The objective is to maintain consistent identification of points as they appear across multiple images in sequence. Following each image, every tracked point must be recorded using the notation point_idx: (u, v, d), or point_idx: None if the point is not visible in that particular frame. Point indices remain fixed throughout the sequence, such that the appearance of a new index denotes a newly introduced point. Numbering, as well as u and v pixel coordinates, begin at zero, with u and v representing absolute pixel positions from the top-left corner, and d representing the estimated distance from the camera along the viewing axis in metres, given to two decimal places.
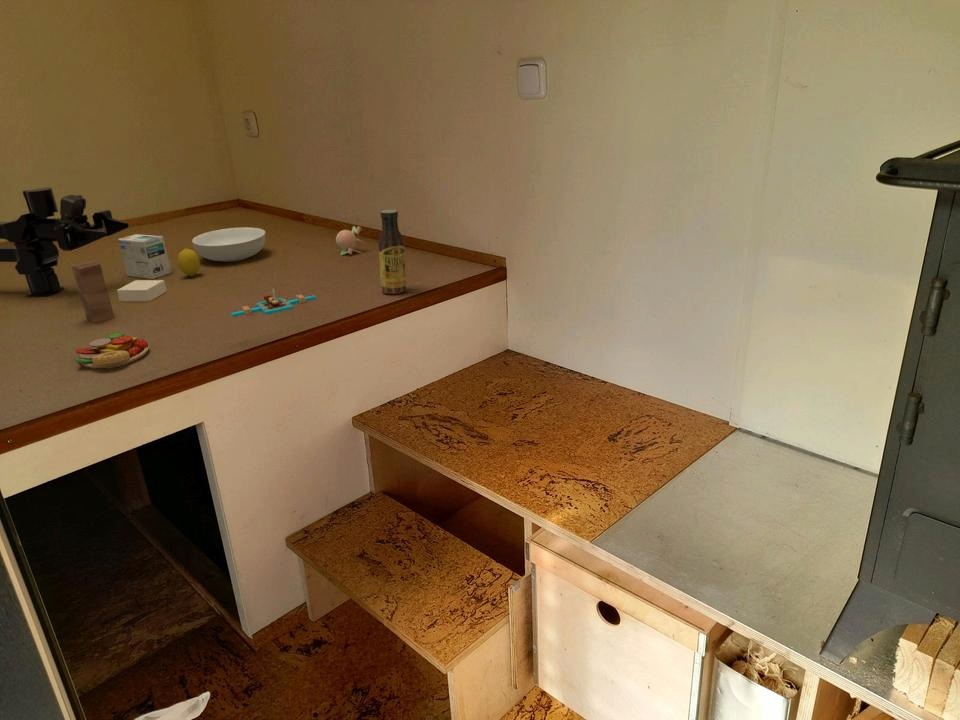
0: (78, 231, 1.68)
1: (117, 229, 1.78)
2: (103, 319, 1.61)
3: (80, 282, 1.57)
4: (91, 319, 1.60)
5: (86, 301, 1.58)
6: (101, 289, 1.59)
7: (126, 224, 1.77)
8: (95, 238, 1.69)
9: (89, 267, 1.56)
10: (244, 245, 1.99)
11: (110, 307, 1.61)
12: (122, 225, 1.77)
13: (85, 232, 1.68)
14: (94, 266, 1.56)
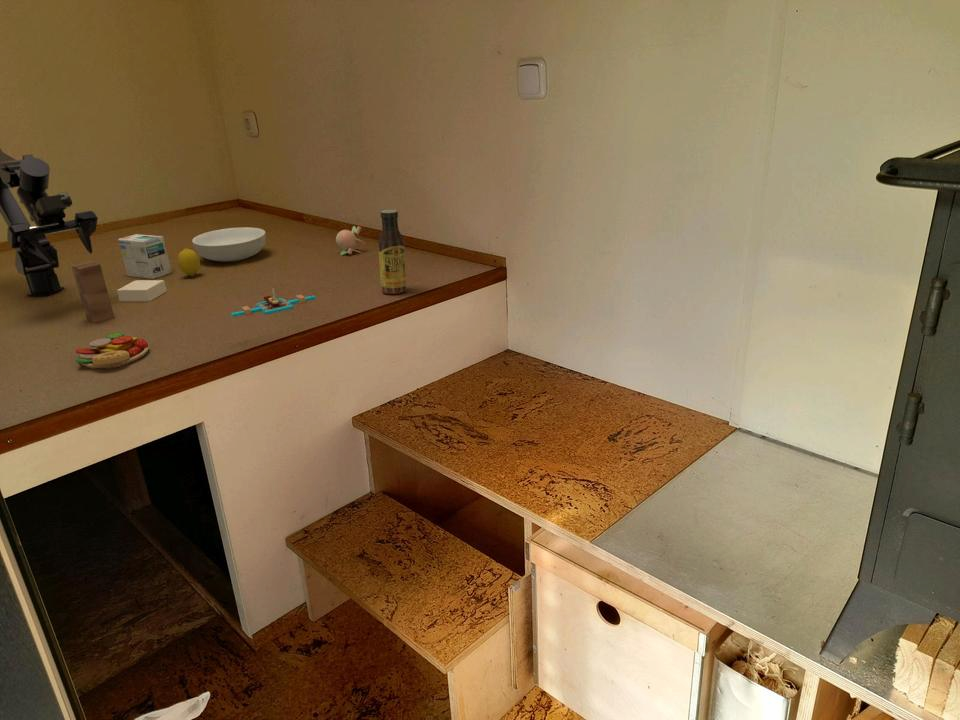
0: None
1: (84, 244, 1.66)
2: (103, 319, 1.61)
3: (80, 282, 1.57)
4: (91, 319, 1.60)
5: (86, 301, 1.58)
6: (101, 289, 1.59)
7: (90, 250, 1.65)
8: (41, 256, 1.59)
9: (89, 267, 1.56)
10: (244, 245, 1.99)
11: (110, 307, 1.61)
12: (87, 247, 1.65)
13: (35, 246, 1.58)
14: (94, 266, 1.56)
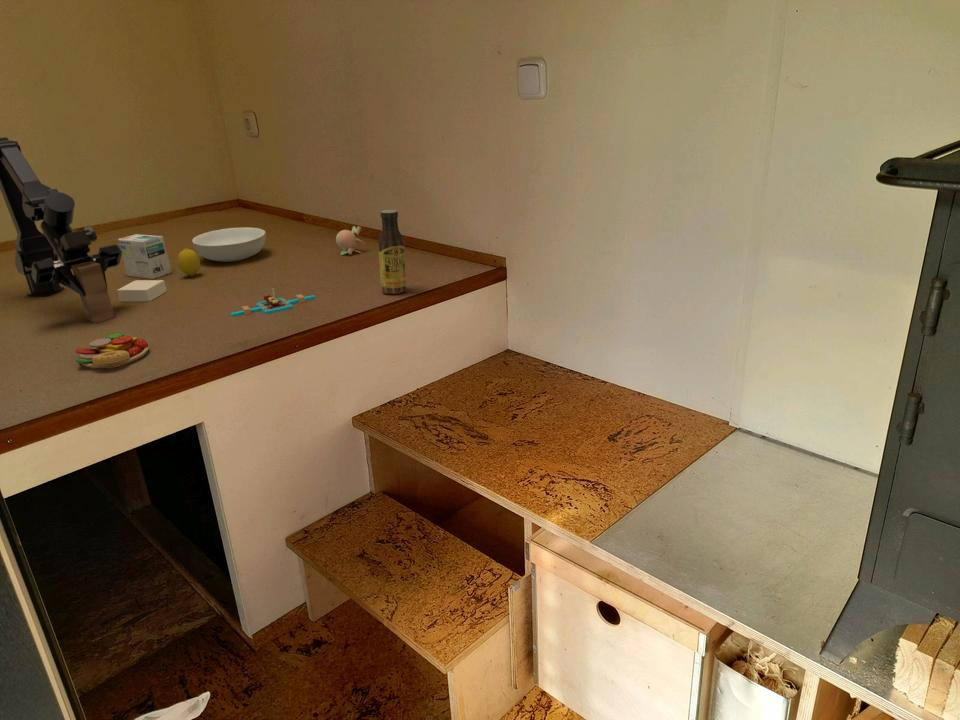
0: None
1: None
2: (103, 319, 1.61)
3: (80, 282, 1.57)
4: (91, 319, 1.60)
5: (86, 301, 1.58)
6: (101, 289, 1.59)
7: None
8: (76, 290, 1.58)
9: (89, 267, 1.56)
10: (244, 245, 1.99)
11: (110, 307, 1.61)
12: None
13: (69, 280, 1.56)
14: (94, 266, 1.56)
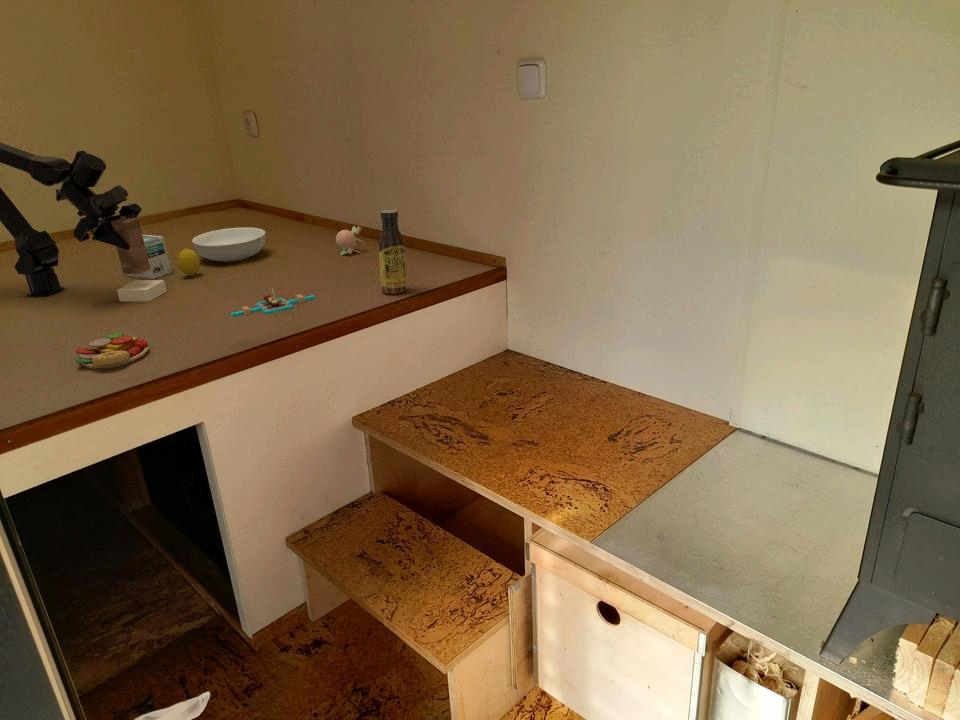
0: (107, 230, 1.66)
1: None
2: (143, 270, 1.73)
3: (122, 236, 1.68)
4: (132, 271, 1.71)
5: (129, 254, 1.70)
6: (141, 242, 1.71)
7: None
8: (117, 245, 1.68)
9: (132, 221, 1.68)
10: (244, 245, 1.99)
11: (147, 259, 1.74)
12: None
13: (112, 235, 1.67)
14: (135, 220, 1.69)
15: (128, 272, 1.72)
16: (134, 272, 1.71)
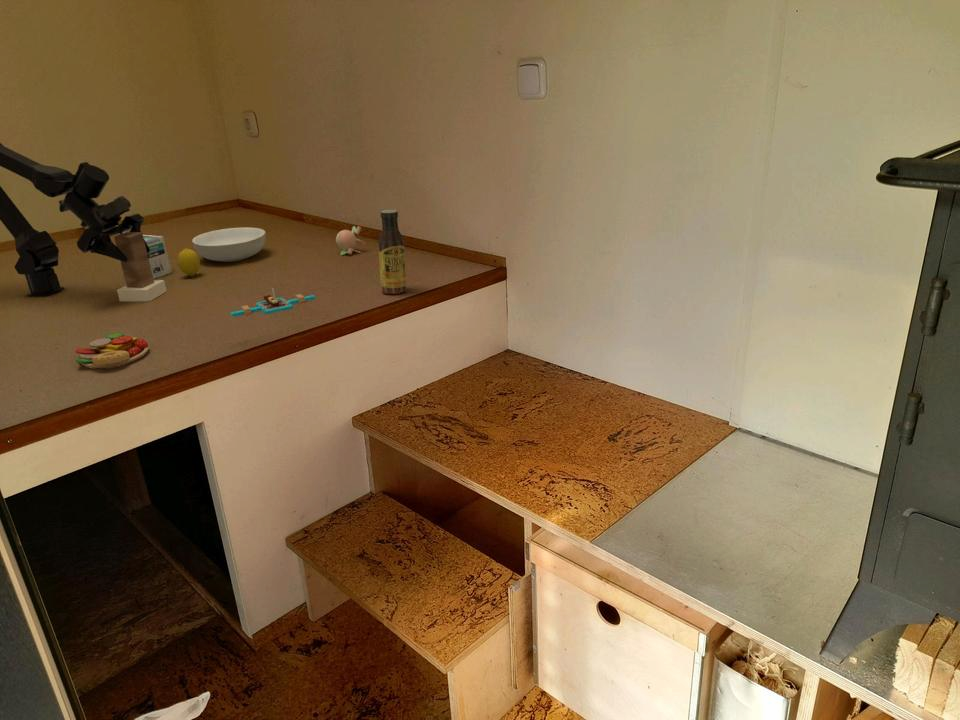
0: (105, 243, 1.66)
1: None
2: (147, 284, 1.74)
3: (126, 251, 1.69)
4: (136, 285, 1.73)
5: (133, 268, 1.71)
6: (144, 256, 1.73)
7: (148, 250, 1.75)
8: (115, 257, 1.68)
9: (135, 235, 1.70)
10: (244, 245, 1.99)
11: (151, 273, 1.75)
12: None
13: (110, 247, 1.66)
14: (138, 234, 1.71)
15: (132, 286, 1.73)
16: (138, 286, 1.73)
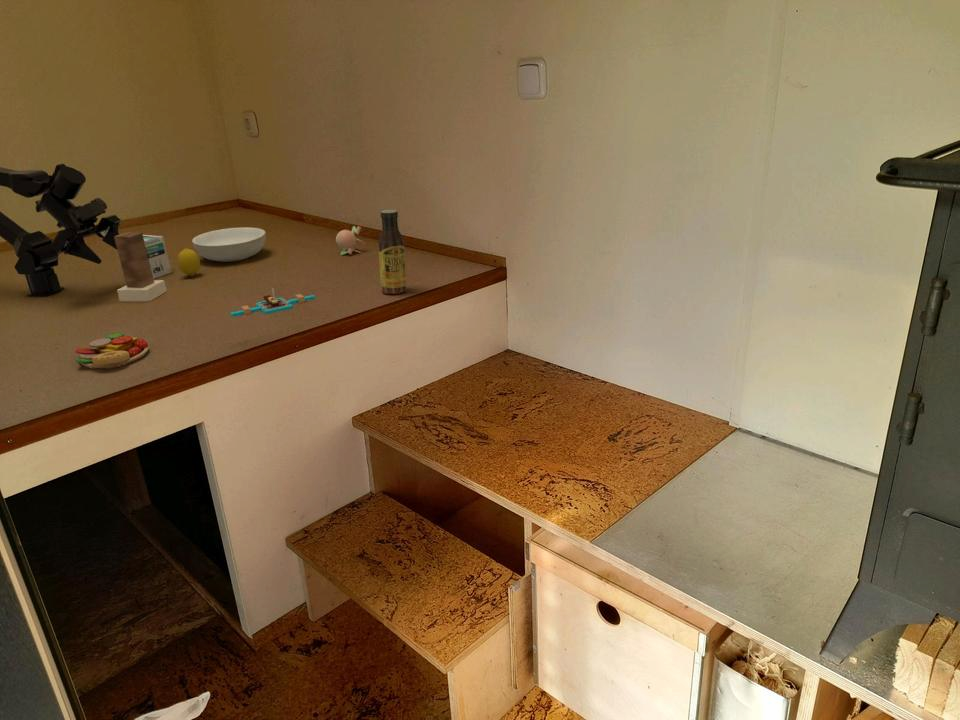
0: (79, 244, 1.67)
1: (114, 246, 1.78)
2: (147, 284, 1.74)
3: (126, 251, 1.69)
4: (136, 285, 1.73)
5: (133, 268, 1.71)
6: (144, 256, 1.73)
7: None
8: (89, 259, 1.69)
9: (135, 235, 1.70)
10: (244, 245, 1.99)
11: (151, 273, 1.75)
12: None
13: (84, 249, 1.68)
14: (138, 234, 1.71)
15: (132, 286, 1.73)
16: (138, 286, 1.73)
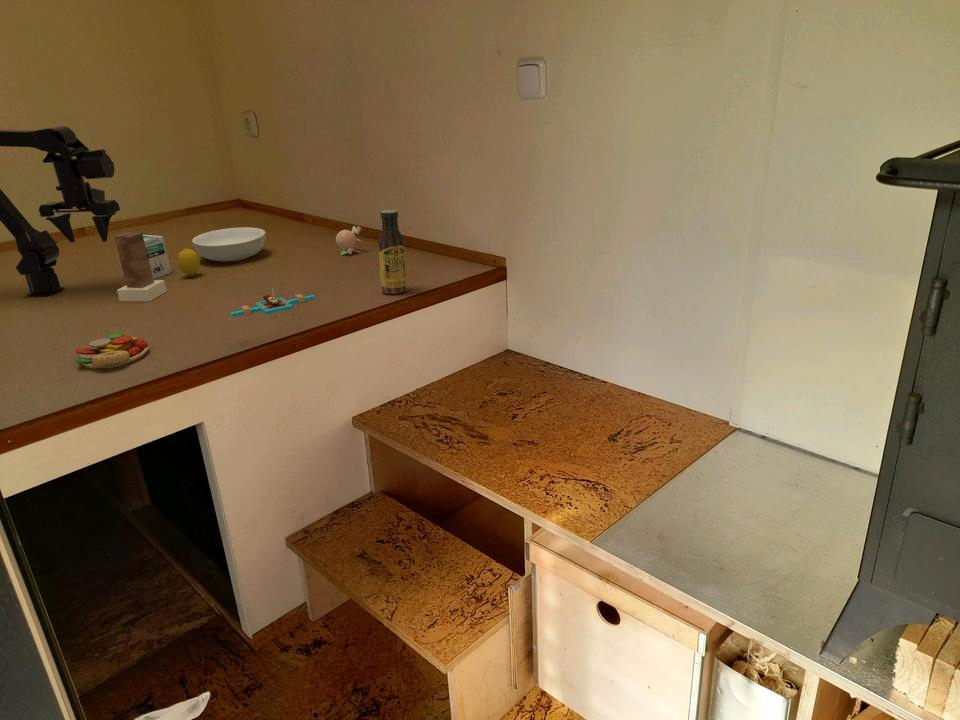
0: (108, 218, 1.75)
1: (66, 230, 1.76)
2: (147, 284, 1.74)
3: (126, 251, 1.69)
4: (136, 285, 1.73)
5: (133, 268, 1.71)
6: (144, 256, 1.73)
7: (73, 240, 1.79)
8: (102, 233, 1.75)
9: (135, 235, 1.70)
10: (244, 245, 1.99)
11: (151, 273, 1.75)
12: (71, 236, 1.78)
13: (107, 224, 1.76)
14: (138, 234, 1.71)
15: (132, 286, 1.73)
16: (138, 286, 1.73)
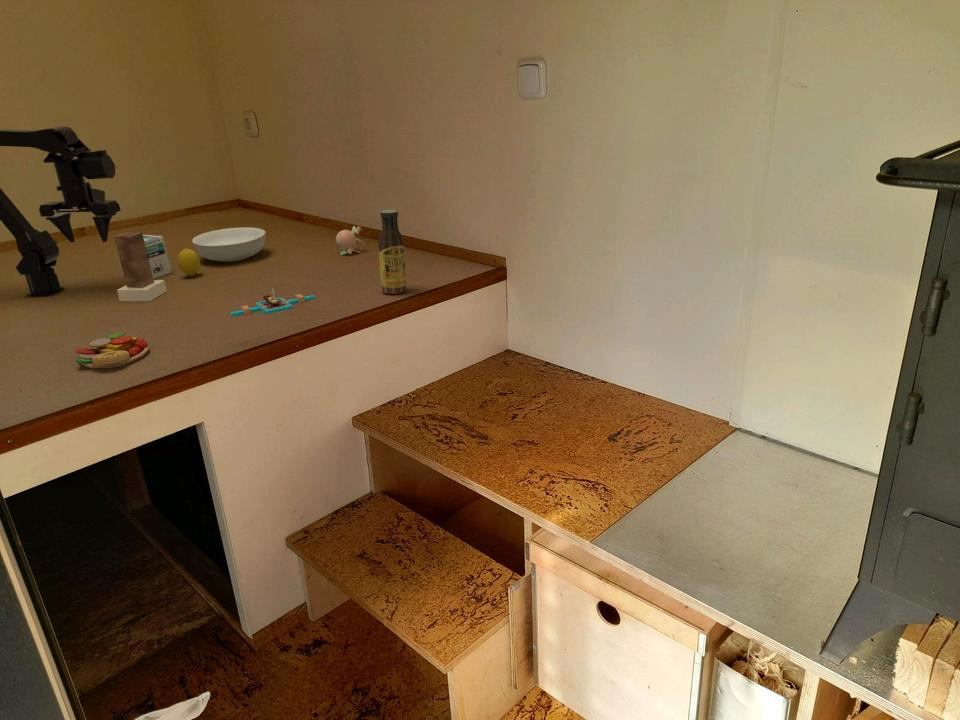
0: (108, 218, 1.76)
1: (66, 230, 1.76)
2: (147, 284, 1.74)
3: (126, 251, 1.69)
4: (136, 285, 1.73)
5: (133, 268, 1.71)
6: (144, 256, 1.73)
7: (73, 240, 1.79)
8: (102, 233, 1.75)
9: (135, 235, 1.70)
10: (244, 245, 1.99)
11: (151, 273, 1.75)
12: (71, 236, 1.78)
13: (107, 224, 1.76)
14: (138, 234, 1.71)
15: (132, 286, 1.73)
16: (138, 286, 1.73)
